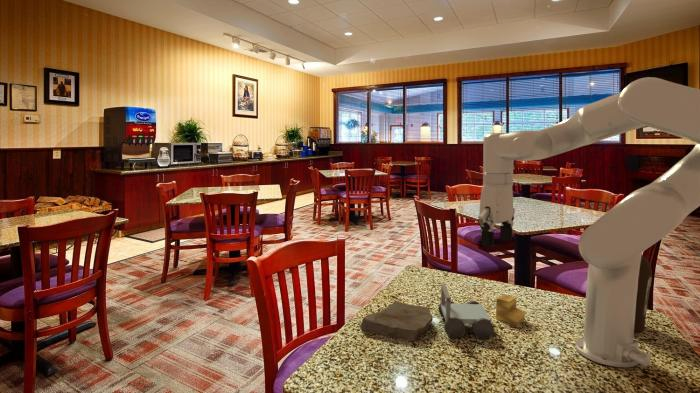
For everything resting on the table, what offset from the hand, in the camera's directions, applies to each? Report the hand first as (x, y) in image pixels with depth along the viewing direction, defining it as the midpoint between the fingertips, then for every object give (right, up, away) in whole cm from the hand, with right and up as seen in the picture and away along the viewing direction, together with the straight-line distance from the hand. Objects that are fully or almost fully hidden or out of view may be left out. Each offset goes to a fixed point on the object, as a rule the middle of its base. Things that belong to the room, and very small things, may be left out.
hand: (497, 243), depth 108 cm
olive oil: (+33, -22, -2) cm, 39 cm away
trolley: (-9, -22, -2) cm, 24 cm away
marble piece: (-26, -23, -1) cm, 35 cm away
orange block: (+5, -22, +3) cm, 22 cm away
